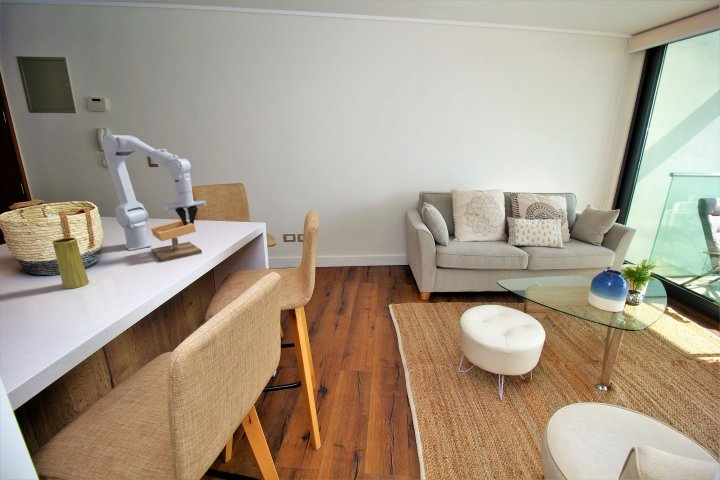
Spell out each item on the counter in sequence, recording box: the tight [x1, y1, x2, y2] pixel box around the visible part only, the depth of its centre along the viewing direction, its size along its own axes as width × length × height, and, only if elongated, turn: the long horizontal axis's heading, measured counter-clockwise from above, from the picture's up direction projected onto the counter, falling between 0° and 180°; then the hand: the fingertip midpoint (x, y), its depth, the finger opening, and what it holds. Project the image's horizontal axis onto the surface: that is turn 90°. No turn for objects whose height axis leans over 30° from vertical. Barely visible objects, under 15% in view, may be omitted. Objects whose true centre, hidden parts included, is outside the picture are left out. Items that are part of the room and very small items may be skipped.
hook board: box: [150, 237, 203, 263], centre depth 124 cm, size 14×14×6 cm
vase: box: [52, 237, 90, 290], centre depth 95 cm, size 6×6×14 cm
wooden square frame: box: [150, 219, 197, 242], centre depth 122 cm, size 12×12×3 cm
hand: (188, 226), depth 124 cm, fingers closed on wooden square frame, 2 cm apart
